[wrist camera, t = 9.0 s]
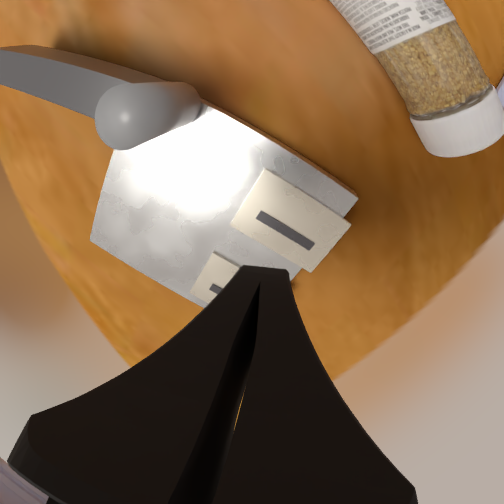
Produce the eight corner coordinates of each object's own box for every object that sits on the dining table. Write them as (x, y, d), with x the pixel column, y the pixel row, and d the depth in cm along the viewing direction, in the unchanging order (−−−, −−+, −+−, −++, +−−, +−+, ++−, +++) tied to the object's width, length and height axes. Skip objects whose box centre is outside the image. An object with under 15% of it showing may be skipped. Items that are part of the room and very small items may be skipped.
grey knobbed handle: (189, 134, 13) (139, 160, 9) (27, 74, 11) (-33, 87, 7) (208, 91, 12) (161, 96, 7) (36, 41, 10) (-25, 47, 6)
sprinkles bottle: (282, -65, 8) (432, 129, 13) (224, -72, 6) (418, 170, 11) (340, -109, 4) (505, 110, 9) (291, -135, 2) (514, 151, 7)
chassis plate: (362, 196, 14) (367, 206, 13) (255, 323, 20) (253, 336, 19) (152, 75, 12) (140, 75, 11) (97, 233, 18) (87, 242, 17)
